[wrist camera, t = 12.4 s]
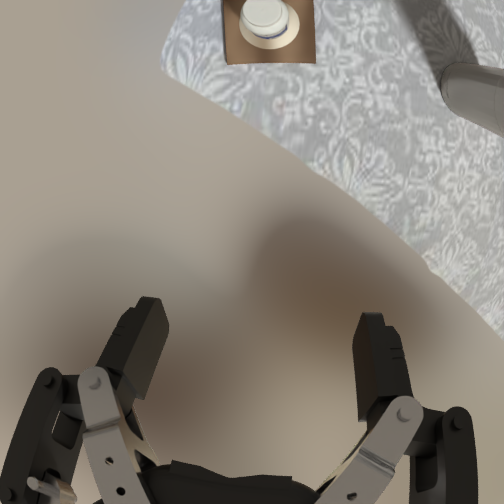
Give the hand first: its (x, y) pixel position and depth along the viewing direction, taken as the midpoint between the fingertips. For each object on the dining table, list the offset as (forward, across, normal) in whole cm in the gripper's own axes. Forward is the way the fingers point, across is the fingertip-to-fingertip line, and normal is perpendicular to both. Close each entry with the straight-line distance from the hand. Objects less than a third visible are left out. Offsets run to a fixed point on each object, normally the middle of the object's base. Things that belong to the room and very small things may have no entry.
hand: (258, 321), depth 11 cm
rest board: (+35, +2, -16) cm, 38 cm away
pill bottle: (+34, +2, -16) cm, 38 cm away
